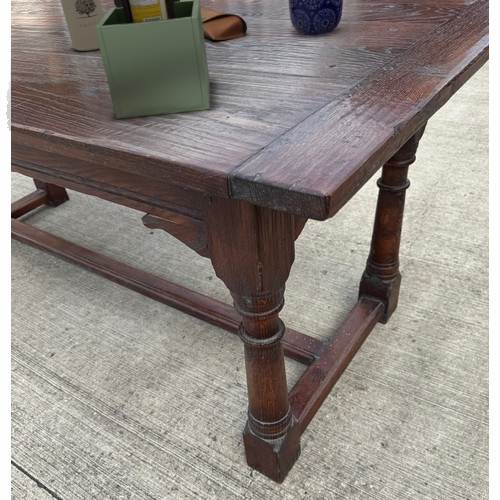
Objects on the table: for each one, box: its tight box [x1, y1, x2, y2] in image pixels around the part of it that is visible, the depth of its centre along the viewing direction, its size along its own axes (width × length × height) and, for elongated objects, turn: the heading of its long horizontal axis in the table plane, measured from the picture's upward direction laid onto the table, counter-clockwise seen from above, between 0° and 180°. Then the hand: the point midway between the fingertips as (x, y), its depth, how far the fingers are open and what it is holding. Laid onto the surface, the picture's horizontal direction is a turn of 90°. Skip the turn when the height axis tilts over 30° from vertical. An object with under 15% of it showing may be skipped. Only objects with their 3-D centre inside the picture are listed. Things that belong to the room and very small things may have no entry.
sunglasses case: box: [200, 5, 248, 41], centre depth 112 cm, size 18×7×7 cm
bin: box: [95, 0, 211, 120], centre depth 76 cm, size 14×14×12 cm
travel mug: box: [59, 0, 105, 52], centre depth 106 cm, size 8×8×18 cm
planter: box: [288, 0, 344, 36], centre depth 102 cm, size 11×11×11 cm
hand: (153, 28), depth 73 cm, fingers open, 5 cm apart
